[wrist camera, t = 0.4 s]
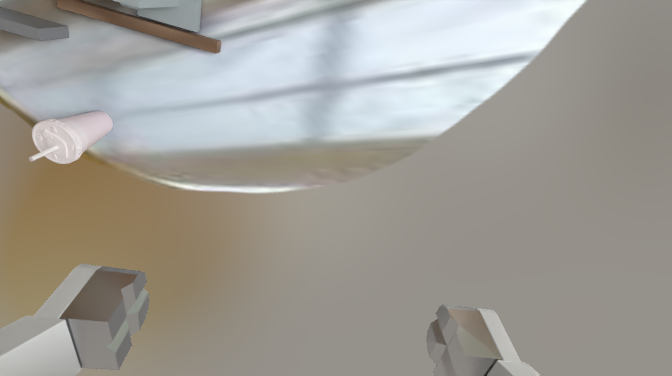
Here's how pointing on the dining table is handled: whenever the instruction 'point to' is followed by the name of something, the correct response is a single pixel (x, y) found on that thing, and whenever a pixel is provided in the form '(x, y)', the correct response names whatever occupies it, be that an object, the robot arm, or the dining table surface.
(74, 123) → the smoothie
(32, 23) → the grey walled tray
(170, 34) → the lane
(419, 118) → the dining table surface
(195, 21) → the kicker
